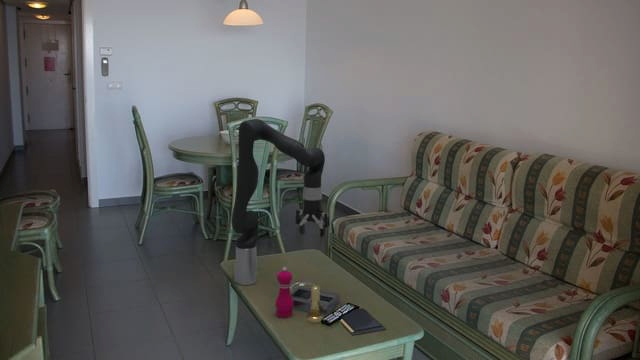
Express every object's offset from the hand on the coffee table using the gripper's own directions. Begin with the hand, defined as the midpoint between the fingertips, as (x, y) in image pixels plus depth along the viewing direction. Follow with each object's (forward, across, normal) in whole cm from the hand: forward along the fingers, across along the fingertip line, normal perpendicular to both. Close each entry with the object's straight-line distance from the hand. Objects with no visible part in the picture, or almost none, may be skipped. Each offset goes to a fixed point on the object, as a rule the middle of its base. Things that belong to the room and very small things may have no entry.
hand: (312, 235), depth 231 cm
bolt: (+29, +8, -15) cm, 34 cm away
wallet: (+30, +24, -9) cm, 40 cm away
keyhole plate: (+29, +2, -3) cm, 29 cm away
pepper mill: (+30, -5, -16) cm, 34 cm away
